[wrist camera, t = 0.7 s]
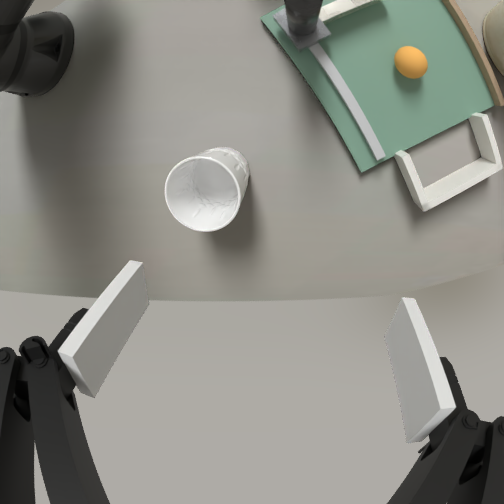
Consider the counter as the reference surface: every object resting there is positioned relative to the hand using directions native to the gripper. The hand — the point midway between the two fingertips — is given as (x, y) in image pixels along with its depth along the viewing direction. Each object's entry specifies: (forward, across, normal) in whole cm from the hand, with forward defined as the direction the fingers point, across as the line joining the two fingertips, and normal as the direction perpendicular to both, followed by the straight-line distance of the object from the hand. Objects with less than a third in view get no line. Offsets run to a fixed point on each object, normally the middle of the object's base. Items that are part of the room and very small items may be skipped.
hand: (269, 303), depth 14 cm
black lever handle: (+23, +4, +21) cm, 32 cm away
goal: (+25, +21, +6) cm, 33 cm away
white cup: (+26, -8, -1) cm, 27 cm away
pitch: (+25, +12, +18) cm, 33 cm away
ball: (+22, +13, +17) cm, 31 cm away
